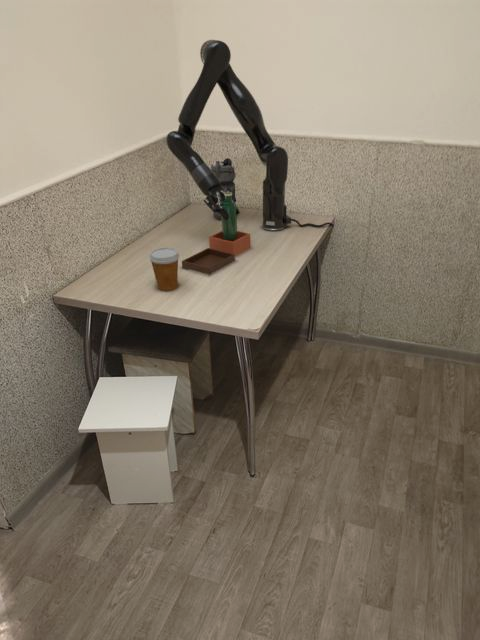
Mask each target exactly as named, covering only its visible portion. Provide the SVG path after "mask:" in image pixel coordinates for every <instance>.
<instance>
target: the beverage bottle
mask: <svg viewBox="0 0 480 640" xmlns="http://www.w3.org/2000/svg"><path fill="white" fill-rule="evenodd" d="M232 162H233V161H232V159H230V158H228V157H227V158H224V159H223V161H221V162H220V161H219V160H217V161H216V162H215V165H214V164H211V166H210V169H211V170H212V171H213V173H214V174H215V175H216V177H217V178H218V180H219V181H220V182H221V187H222V188H223V189H224V190H226V189H227V188H230V190H231V192H232V193H233V195H234V197H235V198H236V183H235V182H234V181H235V180H236V172H235V171H236V170H235V167H234V166H233V165H232V164H233V163H232ZM232 200H233V199H232ZM236 202H237V201H236ZM236 202H235V203H236ZM236 204H237V203H236ZM212 206H213V205H212ZM213 207H214V206H213ZM214 208H215V207H214ZM212 213H213V217H214V218H215V219H217V220H221V221H222V216H221V214H220V213H218V212H215V213H214V212H213V211H212Z"/></svg>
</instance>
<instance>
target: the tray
mask: <svg viewBox="0 0 480 640" xmlns="http://www.w3.org/2000/svg"><path fill="white" fill-rule="evenodd" d="M235 261H236V256H235V254H231V253H227V252H223V251H219V250H215V249H211V248H210V247H207V248H205V249H203V250H201V251H199V252H197V253H195V254H193V255H191V256H189V257H187V258H184V259H183V260H181V267H182V269H185V270H187V271H189V270H190V271H194V272H198V273H201V274H204V275H207V276H208V277H209V276H211V275H212V274H214V273H215V272H217V271H219V270H221V269H222V268H224V267H226V266H228V265H229V264H232V263H234V262H235Z"/></svg>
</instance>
